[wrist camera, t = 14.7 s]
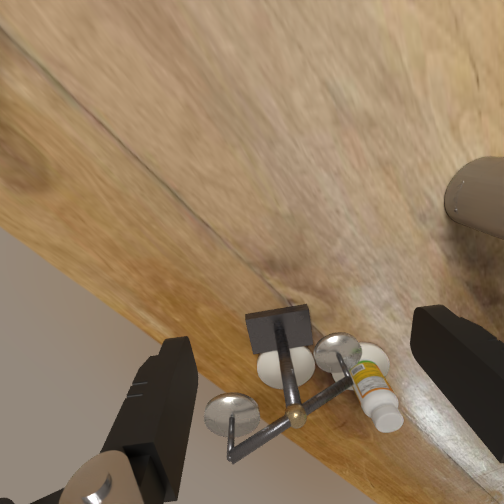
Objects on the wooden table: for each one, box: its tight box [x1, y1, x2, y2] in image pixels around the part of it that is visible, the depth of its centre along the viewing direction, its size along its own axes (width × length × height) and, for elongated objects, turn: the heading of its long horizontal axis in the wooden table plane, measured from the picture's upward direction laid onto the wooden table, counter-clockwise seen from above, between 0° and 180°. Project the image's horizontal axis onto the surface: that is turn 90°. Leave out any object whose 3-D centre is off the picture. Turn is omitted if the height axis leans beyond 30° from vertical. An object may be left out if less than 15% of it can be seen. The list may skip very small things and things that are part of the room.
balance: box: [204, 304, 362, 464], centre depth 35 cm, size 21×7×19 cm, turn 100°
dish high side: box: [257, 346, 315, 389], centre depth 46 cm, size 10×10×1 cm
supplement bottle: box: [348, 358, 404, 433], centre depth 41 cm, size 5×5×10 cm
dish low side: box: [332, 342, 390, 390], centre depth 47 cm, size 10×10×1 cm
